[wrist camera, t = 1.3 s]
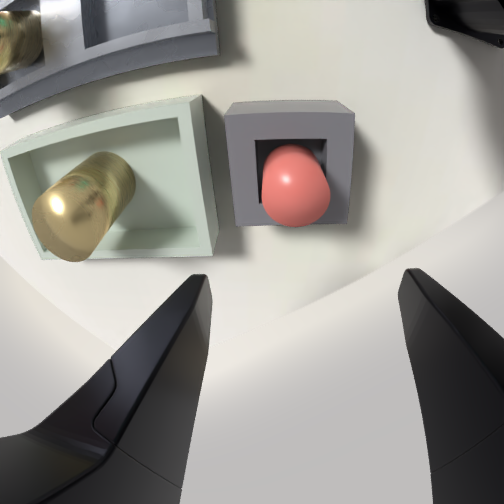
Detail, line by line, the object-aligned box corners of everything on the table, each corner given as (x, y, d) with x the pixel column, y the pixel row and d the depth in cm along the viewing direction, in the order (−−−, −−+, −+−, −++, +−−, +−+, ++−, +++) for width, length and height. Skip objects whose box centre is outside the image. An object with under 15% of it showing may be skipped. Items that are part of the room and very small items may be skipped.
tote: (201, 94, 16) (188, 102, 13) (219, 230, 21) (212, 256, 19) (24, 137, 17) (-1, 151, 15) (58, 238, 23) (41, 259, 20)
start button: (320, 143, 14) (332, 165, 11) (319, 195, 15) (328, 226, 13) (261, 144, 14) (259, 166, 12) (264, 196, 16) (263, 227, 13)
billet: (127, 146, 17) (79, 187, 12) (142, 207, 20) (106, 261, 15) (74, 157, 18) (21, 197, 13) (90, 211, 20) (49, 262, 15)
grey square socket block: (336, 100, 16) (354, 113, 12) (333, 191, 19) (347, 223, 16) (233, 102, 16) (223, 115, 13) (241, 194, 20) (235, 226, 16)
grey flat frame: (208, -83, 9) (200, -99, 7) (220, 54, 14) (212, 54, 12) (-4, 6, 10) (-26, 8, 8) (8, 114, 16) (-13, 124, 14)
